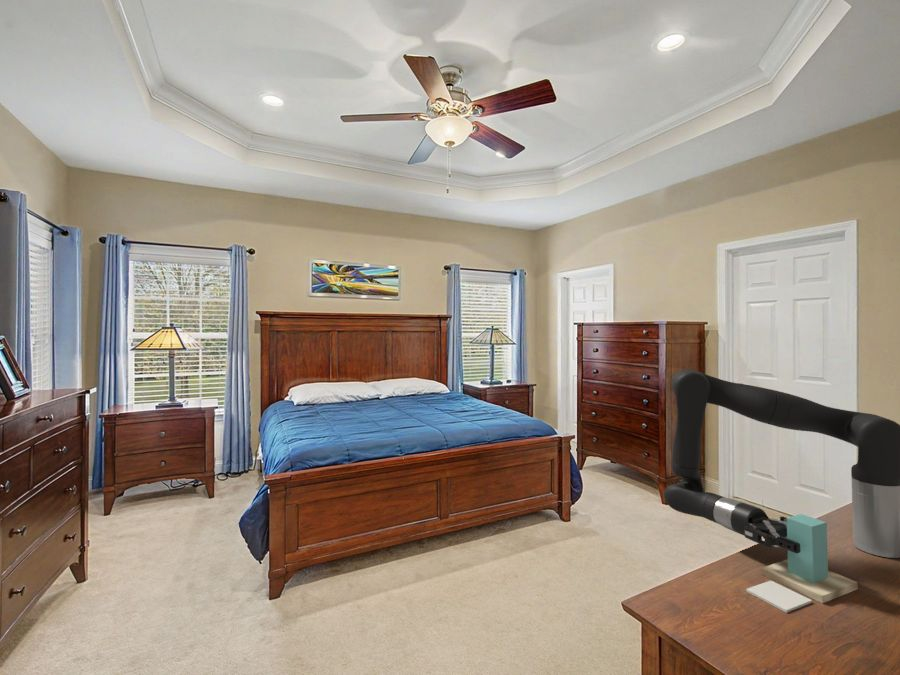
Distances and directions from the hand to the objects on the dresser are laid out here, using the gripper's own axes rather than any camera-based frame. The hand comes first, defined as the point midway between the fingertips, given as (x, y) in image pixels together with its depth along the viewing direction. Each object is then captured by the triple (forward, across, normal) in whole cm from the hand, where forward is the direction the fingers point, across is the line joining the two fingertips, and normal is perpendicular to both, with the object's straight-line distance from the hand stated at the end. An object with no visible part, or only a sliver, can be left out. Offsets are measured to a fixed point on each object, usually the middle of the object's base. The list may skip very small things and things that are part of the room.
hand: (812, 544), depth 97 cm
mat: (0, -12, +8) cm, 14 cm away
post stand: (-1, 0, +8) cm, 9 cm away
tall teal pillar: (-1, 0, +7) cm, 7 cm away
